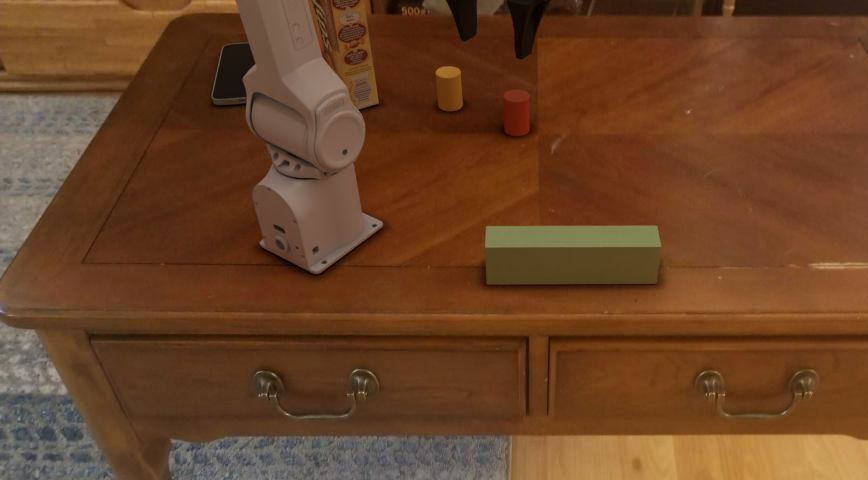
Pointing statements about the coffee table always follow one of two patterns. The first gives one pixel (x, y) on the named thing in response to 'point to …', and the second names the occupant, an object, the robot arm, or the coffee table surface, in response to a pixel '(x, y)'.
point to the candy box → (347, 46)
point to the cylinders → (512, 99)
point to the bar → (572, 255)
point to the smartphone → (232, 74)
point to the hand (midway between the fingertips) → (495, 46)
